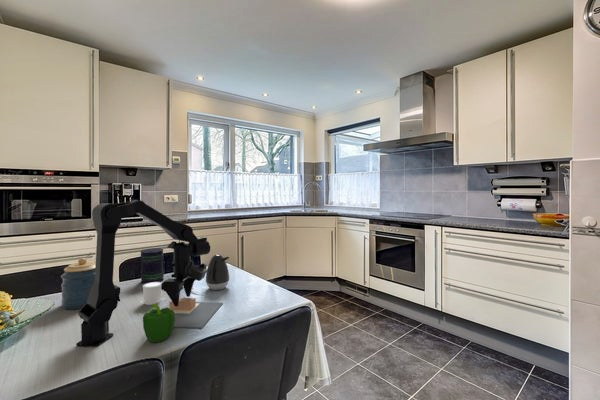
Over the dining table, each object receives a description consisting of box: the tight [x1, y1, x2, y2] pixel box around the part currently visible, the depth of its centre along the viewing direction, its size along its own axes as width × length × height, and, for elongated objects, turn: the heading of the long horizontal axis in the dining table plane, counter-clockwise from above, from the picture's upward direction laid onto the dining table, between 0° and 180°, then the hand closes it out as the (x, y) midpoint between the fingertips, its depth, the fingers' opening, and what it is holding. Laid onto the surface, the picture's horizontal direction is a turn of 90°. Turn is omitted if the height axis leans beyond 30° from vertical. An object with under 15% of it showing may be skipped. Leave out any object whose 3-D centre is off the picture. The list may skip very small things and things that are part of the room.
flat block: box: [168, 297, 197, 311], centre depth 105 cm, size 8×4×3 cm, turn 86°
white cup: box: [142, 282, 163, 306], centre depth 112 cm, size 7×7×7 cm
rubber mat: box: [173, 301, 224, 329], centre depth 101 cm, size 20×18×1 cm
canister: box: [60, 257, 96, 310], centre depth 111 cm, size 13×13×18 cm
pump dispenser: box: [205, 254, 230, 291], centre depth 128 cm, size 10×10×15 cm
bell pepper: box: [142, 303, 175, 343], centre depth 85 cm, size 8×8×10 cm
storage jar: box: [140, 247, 165, 285], centre depth 138 cm, size 10×10×15 cm
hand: (182, 301), depth 105 cm, fingers open, 9 cm apart
